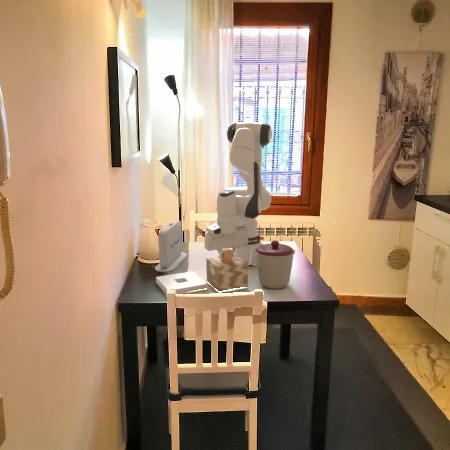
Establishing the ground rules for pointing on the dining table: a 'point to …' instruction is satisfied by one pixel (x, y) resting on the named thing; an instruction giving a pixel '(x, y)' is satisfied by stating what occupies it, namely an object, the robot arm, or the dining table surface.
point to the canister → (274, 264)
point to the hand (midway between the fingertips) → (226, 257)
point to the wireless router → (170, 247)
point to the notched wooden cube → (227, 273)
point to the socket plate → (181, 282)
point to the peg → (227, 255)
